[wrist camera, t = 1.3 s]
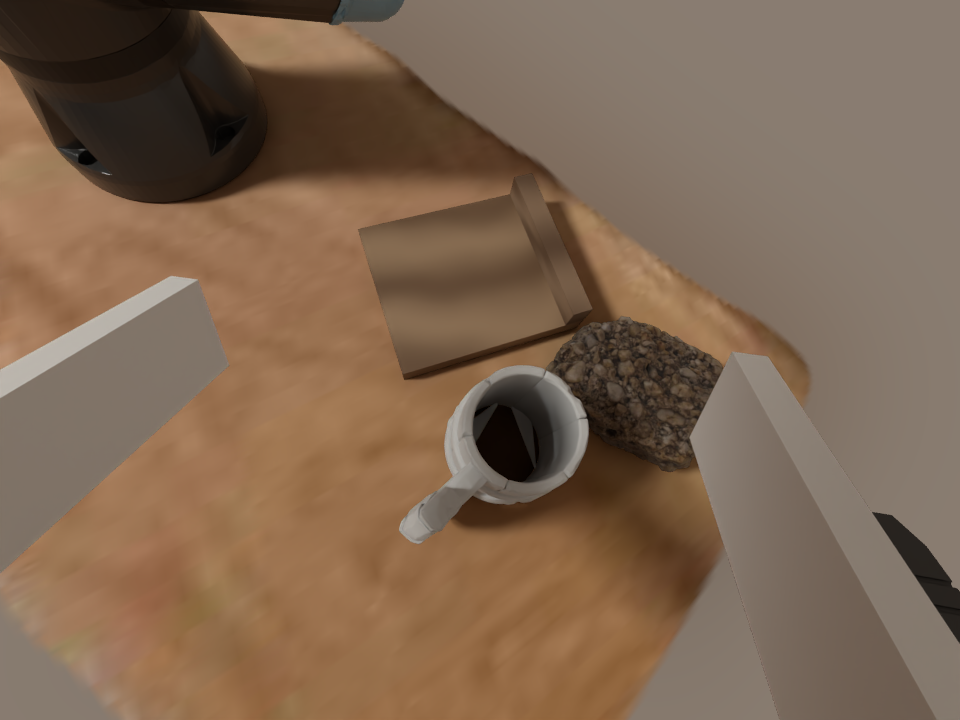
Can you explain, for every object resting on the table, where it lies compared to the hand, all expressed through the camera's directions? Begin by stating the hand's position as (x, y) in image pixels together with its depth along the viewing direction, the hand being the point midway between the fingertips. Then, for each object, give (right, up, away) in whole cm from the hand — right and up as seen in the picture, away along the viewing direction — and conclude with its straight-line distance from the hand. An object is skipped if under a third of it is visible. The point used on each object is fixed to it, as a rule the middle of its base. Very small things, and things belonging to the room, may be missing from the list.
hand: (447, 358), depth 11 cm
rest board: (0, +6, +23) cm, 24 cm away
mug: (+1, -7, +19) cm, 20 cm away
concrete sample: (+12, -2, +22) cm, 25 cm away
